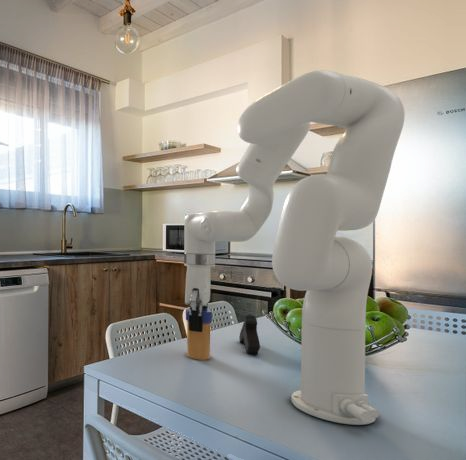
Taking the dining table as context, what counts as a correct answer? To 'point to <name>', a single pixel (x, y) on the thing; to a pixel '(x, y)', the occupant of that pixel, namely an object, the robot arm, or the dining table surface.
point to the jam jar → (198, 343)
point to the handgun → (250, 335)
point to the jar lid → (205, 313)
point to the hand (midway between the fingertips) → (198, 327)
